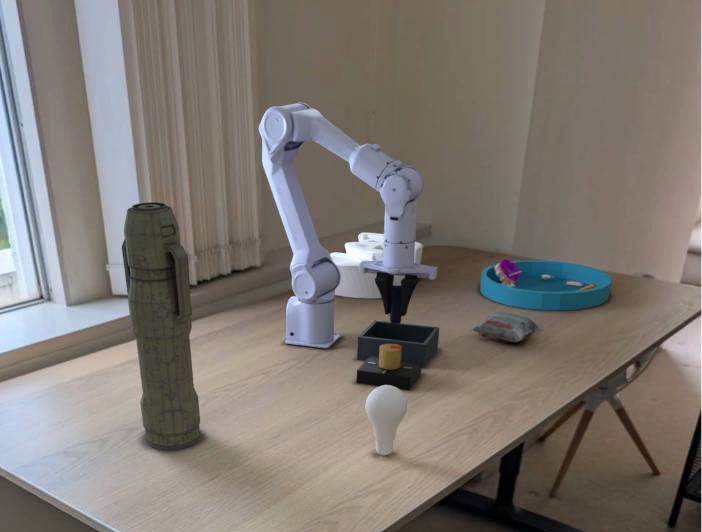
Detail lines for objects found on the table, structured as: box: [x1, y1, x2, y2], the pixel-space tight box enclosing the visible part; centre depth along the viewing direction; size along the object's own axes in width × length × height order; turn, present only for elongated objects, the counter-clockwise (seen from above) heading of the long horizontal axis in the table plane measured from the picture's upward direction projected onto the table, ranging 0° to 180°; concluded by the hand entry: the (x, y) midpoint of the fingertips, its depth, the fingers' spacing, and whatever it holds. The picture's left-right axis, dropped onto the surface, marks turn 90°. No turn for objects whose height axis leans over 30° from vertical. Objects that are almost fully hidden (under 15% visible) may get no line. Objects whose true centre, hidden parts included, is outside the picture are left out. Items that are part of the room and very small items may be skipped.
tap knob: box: [379, 344, 402, 370], centre depth 146 cm, size 4×4×4 cm
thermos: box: [121, 201, 201, 451], centre depth 119 cm, size 9×12×35 cm
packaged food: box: [469, 311, 542, 343], centre depth 165 cm, size 9×12×5 cm
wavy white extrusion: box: [330, 232, 424, 299], centre depth 200 cm, size 35×16×10 cm, turn 145°
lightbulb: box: [365, 385, 408, 456], centre depth 119 cm, size 6×6×11 cm
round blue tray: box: [479, 258, 613, 311], centre depth 193 cm, size 30×30×6 cm
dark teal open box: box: [356, 320, 440, 369], centre depth 158 cm, size 13×11×5 cm
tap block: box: [356, 356, 422, 391], centre depth 148 cm, size 10×8×3 cm
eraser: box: [389, 285, 403, 324], centre depth 153 cm, size 2×2×7 cm
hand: (395, 313), depth 155 cm, fingers closed on eraser, 2 cm apart
